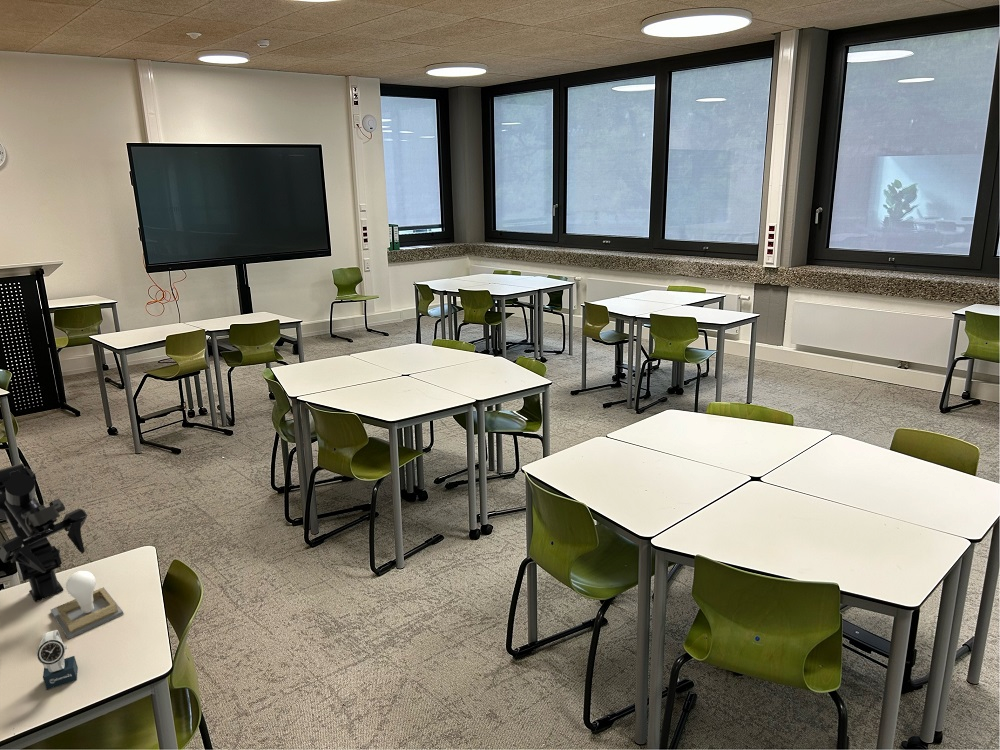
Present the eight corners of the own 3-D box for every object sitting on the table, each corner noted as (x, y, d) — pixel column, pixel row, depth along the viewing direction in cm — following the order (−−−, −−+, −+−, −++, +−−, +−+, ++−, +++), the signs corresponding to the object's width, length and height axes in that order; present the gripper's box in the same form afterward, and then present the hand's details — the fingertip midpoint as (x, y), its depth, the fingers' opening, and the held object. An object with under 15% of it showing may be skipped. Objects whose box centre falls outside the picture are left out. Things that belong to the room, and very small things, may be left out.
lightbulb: (91, 621, 167) (79, 581, 163) (68, 619, 168) (56, 579, 164) (108, 605, 172) (98, 566, 169) (86, 604, 173) (75, 565, 170)
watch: (45, 695, 145) (31, 651, 141) (49, 672, 152) (35, 629, 148) (76, 685, 147) (63, 641, 144) (78, 662, 154) (66, 620, 151)
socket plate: (51, 612, 172) (48, 602, 171) (104, 589, 180) (101, 580, 179) (68, 639, 162) (65, 628, 161) (123, 614, 170) (121, 604, 169)
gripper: (-10, 512, 158) (29, 567, 156) (73, 478, 173) (110, 527, 171) (-17, 536, 165) (20, 588, 162) (64, 500, 180) (99, 548, 177)
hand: (64, 562), depth 168 cm, fingers open, 9 cm apart
